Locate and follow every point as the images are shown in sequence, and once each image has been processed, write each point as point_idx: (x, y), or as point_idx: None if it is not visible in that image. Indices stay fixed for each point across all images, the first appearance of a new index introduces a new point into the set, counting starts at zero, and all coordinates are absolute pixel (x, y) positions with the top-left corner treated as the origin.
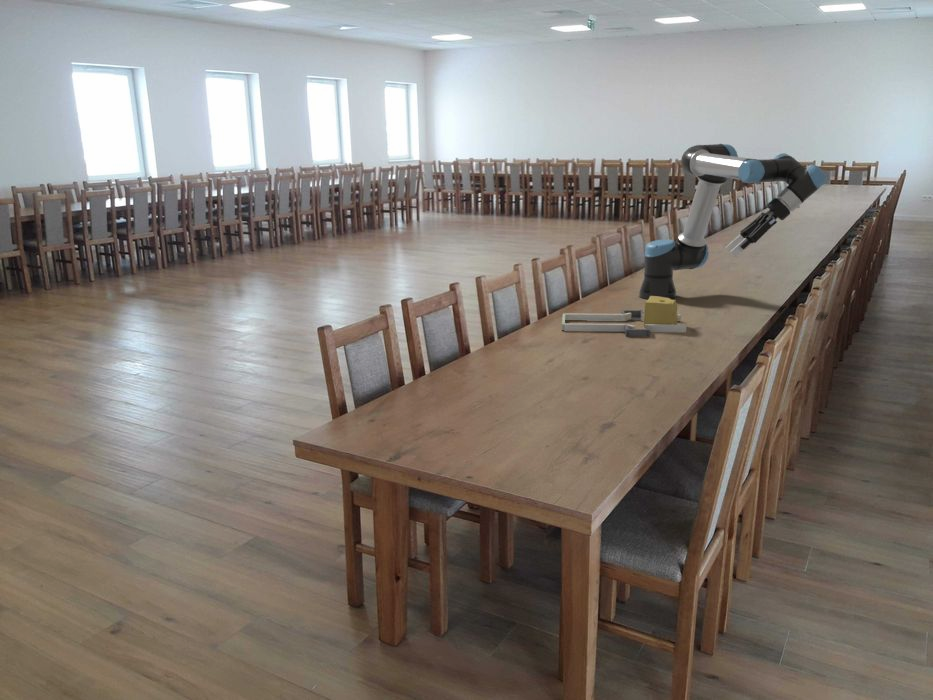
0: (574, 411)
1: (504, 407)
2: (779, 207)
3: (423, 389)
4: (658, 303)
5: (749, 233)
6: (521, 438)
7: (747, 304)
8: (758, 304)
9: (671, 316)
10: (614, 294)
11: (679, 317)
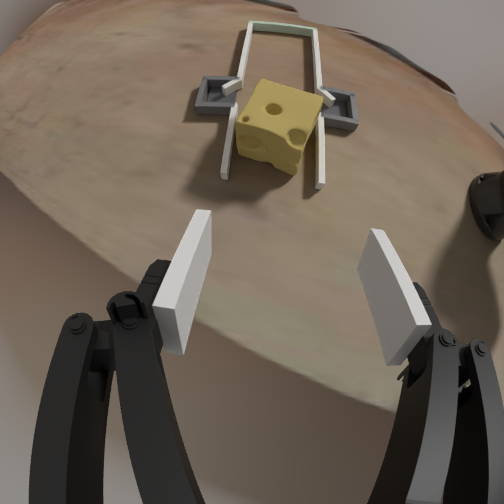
0: (13, 82)
1: (39, 46)
2: None
3: (92, 2)
4: (250, 98)
5: (405, 406)
6: (3, 71)
7: None
8: None
9: (236, 137)
10: (484, 145)
11: (317, 182)
